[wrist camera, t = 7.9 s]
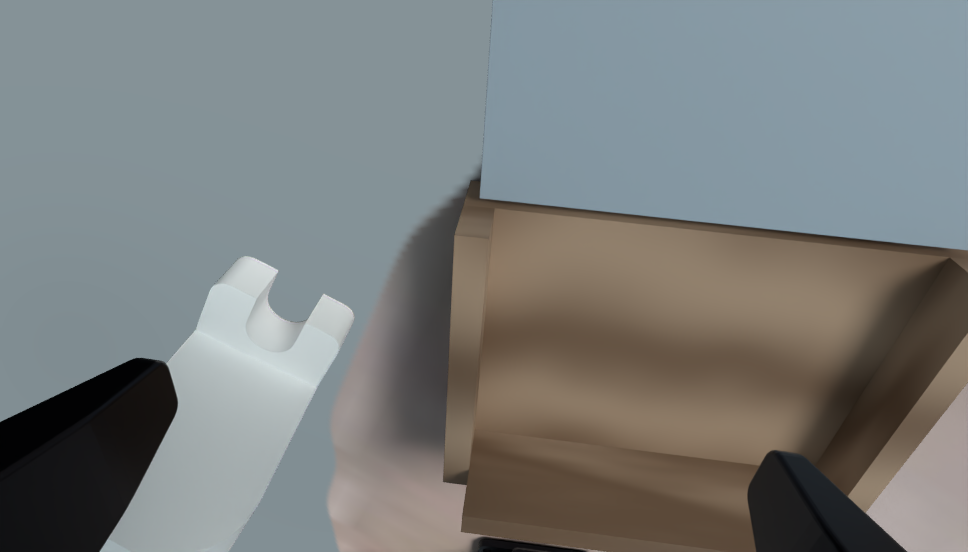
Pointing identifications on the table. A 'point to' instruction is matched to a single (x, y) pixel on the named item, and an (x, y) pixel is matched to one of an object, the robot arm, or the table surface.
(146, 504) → the cable organizer
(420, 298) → the table surface
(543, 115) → the panel
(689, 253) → the tray
